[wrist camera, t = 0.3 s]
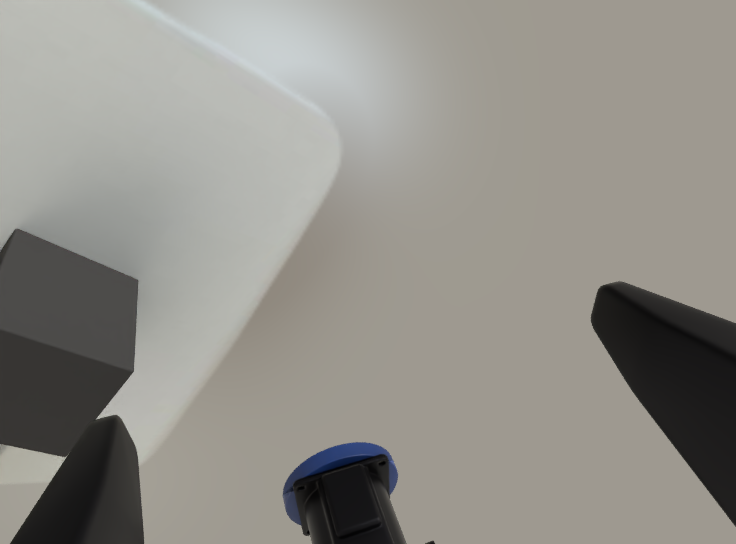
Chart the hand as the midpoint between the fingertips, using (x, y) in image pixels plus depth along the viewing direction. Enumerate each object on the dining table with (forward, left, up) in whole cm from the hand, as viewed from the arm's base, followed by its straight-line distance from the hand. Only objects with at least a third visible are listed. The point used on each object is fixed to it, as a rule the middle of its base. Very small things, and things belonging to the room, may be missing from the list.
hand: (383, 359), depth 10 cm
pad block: (-6, +10, -14) cm, 18 cm away
